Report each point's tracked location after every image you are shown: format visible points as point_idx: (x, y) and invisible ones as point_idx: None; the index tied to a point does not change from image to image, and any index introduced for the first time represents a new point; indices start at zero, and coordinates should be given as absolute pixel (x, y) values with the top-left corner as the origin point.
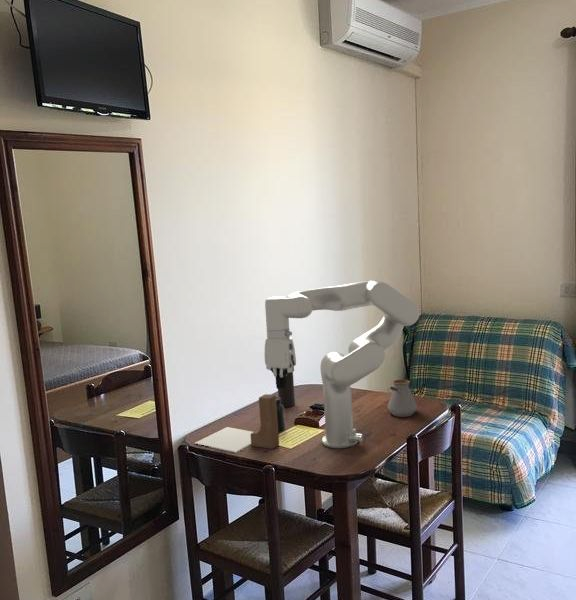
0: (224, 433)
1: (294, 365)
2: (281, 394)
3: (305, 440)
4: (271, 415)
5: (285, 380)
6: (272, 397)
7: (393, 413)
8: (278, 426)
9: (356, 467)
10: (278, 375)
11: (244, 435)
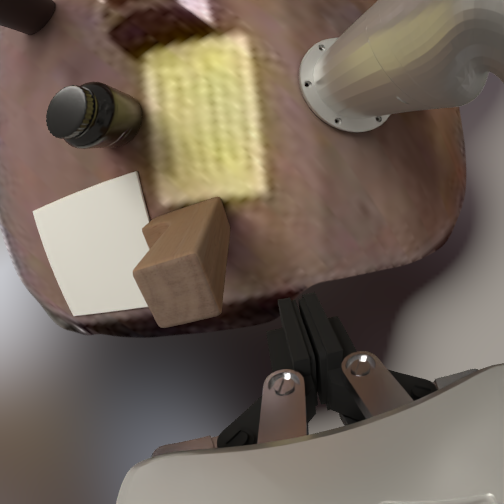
0: (59, 243)
1: (501, 371)
2: (18, 23)
3: (258, 123)
4: (225, 268)
5: (347, 338)
6: (210, 287)
7: None
8: (135, 127)
9: (448, 197)
10: (314, 409)
11: (98, 219)
